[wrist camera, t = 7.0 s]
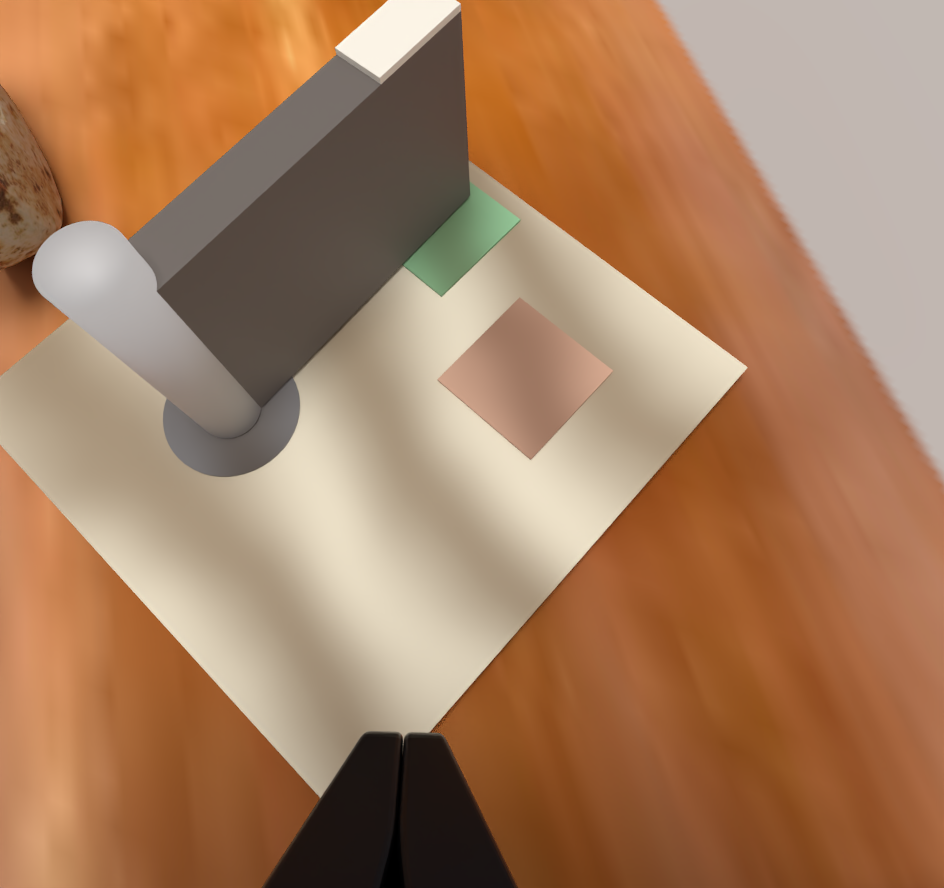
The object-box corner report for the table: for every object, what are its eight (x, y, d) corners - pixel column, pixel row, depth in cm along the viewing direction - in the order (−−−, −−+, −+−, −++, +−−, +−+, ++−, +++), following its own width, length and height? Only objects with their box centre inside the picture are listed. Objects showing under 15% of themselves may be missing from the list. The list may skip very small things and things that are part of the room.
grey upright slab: (228, 451, 22) (74, 324, 14) (185, 412, 22) (11, 268, 14) (475, 199, 24) (466, -31, 16) (432, 169, 25) (403, -69, 17)
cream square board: (351, 822, 19) (346, 827, 18) (-22, 412, 23) (-38, 404, 23) (741, 375, 23) (748, 366, 22) (360, 89, 27) (356, 75, 26)
